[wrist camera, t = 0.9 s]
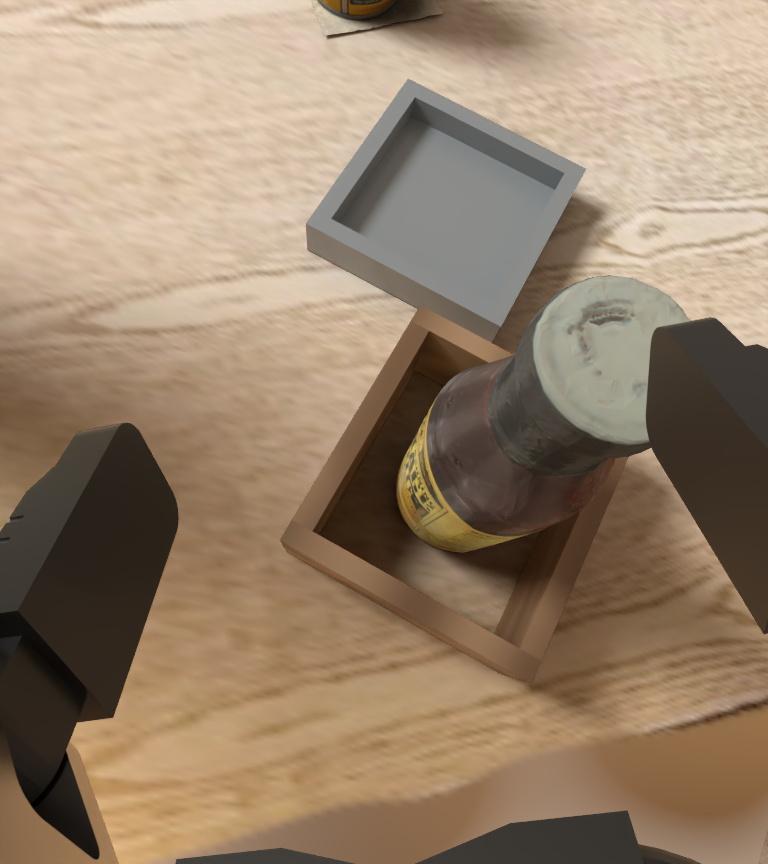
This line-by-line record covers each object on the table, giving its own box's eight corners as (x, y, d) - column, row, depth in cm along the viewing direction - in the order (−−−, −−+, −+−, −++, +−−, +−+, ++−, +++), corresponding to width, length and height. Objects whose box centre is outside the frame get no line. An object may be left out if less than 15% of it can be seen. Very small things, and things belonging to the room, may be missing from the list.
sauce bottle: (411, 424, 33) (522, 171, 14) (520, 460, 33) (777, 253, 14) (375, 540, 31) (448, 424, 12) (491, 578, 31) (744, 519, 12)
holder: (287, 552, 31) (279, 540, 26) (407, 348, 35) (420, 305, 30) (498, 672, 30) (531, 683, 25) (598, 450, 34) (642, 423, 29)
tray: (307, 249, 36) (305, 223, 33) (403, 111, 39) (408, 78, 37) (489, 346, 35) (500, 326, 33) (570, 196, 39) (586, 168, 36)
